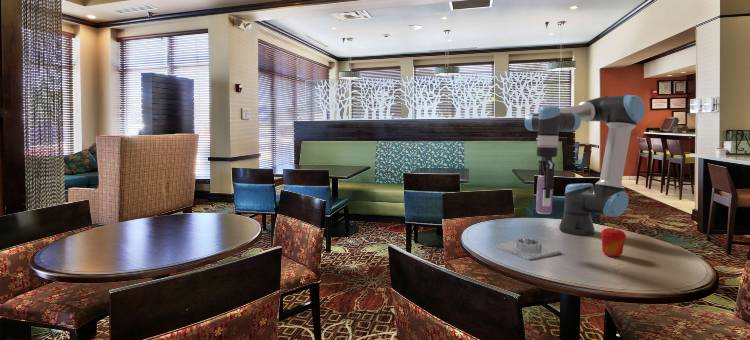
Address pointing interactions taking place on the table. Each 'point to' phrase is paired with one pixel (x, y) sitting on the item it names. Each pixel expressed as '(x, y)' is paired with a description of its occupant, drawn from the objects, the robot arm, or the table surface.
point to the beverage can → (539, 198)
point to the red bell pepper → (613, 241)
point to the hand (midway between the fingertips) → (544, 204)
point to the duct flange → (528, 248)
